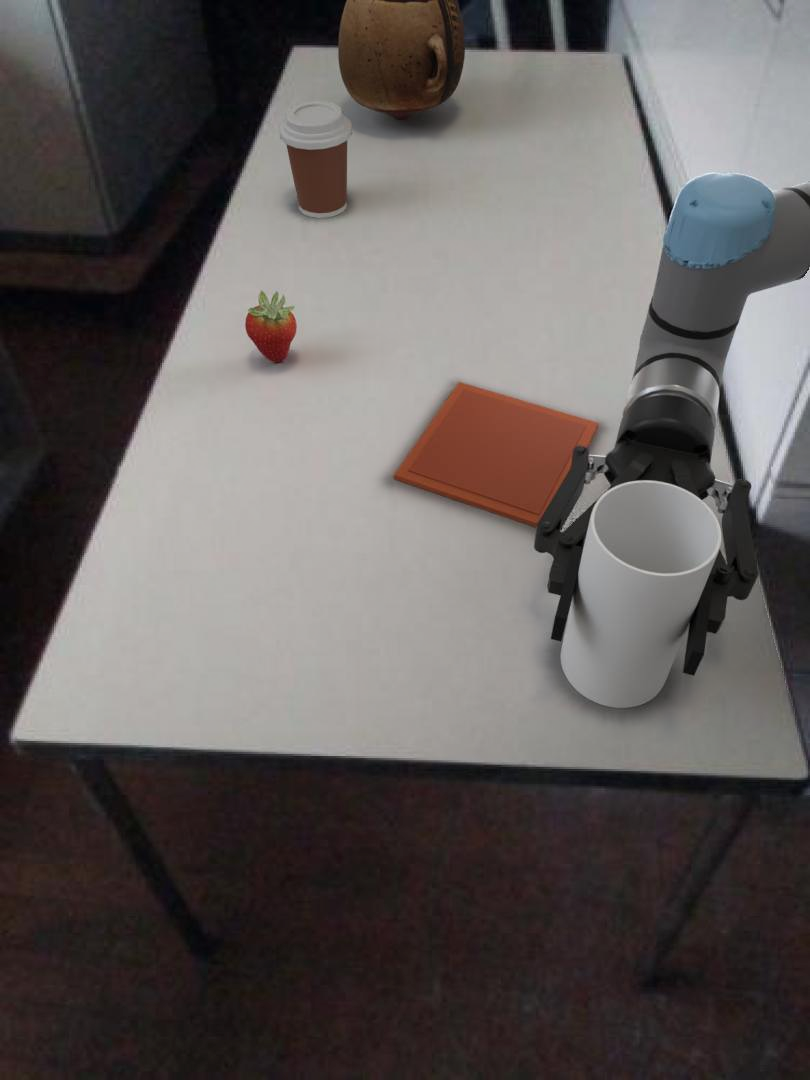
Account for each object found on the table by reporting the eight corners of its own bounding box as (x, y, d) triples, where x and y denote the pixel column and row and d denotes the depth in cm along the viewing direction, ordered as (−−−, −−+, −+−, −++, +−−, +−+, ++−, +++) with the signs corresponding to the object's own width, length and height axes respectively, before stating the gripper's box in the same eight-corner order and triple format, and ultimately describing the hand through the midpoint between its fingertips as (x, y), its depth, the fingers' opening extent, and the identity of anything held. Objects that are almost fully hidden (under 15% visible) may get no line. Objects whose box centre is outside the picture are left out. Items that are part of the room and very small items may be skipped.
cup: (618, 728, 63) (664, 598, 51) (538, 656, 67) (563, 520, 55) (689, 666, 66) (749, 531, 54) (609, 601, 70) (647, 461, 58)
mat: (598, 427, 84) (599, 422, 84) (545, 530, 75) (546, 525, 75) (458, 386, 89) (459, 380, 88) (393, 479, 80) (393, 473, 79)
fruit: (292, 379, 90) (282, 314, 84) (244, 372, 91) (231, 308, 85) (307, 350, 93) (299, 285, 87) (260, 343, 94) (249, 279, 88)
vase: (330, 98, 135) (311, -139, 113) (439, 83, 138) (442, -151, 115) (361, 158, 122) (347, -97, 99) (482, 141, 125) (495, -112, 102)
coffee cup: (361, 189, 116) (356, 97, 107) (352, 224, 110) (345, 130, 101) (295, 187, 117) (284, 96, 108) (282, 222, 111) (269, 128, 102)
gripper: (785, 485, 71) (771, 716, 57) (537, 435, 76) (469, 637, 62) (816, 417, 66) (810, 655, 52) (547, 367, 70) (474, 573, 56)
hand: (624, 645), depth 57 cm, fingers closed on cup, 8 cm apart
